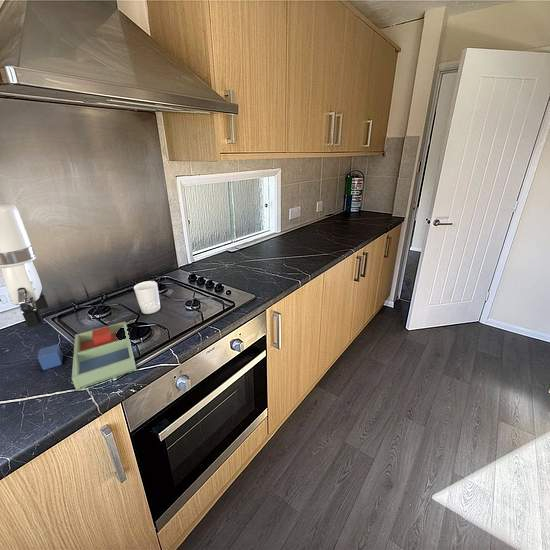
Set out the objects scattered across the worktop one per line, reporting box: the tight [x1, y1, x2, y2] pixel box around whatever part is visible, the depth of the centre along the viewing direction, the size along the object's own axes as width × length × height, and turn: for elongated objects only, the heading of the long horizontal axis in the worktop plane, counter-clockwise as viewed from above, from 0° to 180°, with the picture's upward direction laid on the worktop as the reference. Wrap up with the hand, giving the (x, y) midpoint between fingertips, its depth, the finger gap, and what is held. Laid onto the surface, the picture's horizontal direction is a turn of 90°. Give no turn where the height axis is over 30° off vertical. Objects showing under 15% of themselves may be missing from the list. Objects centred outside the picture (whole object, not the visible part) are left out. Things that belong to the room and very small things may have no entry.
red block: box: [92, 325, 113, 347], centre depth 88 cm, size 4×4×4 cm
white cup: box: [133, 280, 161, 315], centre depth 108 cm, size 8×8×10 cm
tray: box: [71, 321, 137, 391], centre depth 84 cm, size 14×22×4 cm, turn 30°
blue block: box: [37, 343, 64, 371], centre depth 82 cm, size 4×4×4 cm
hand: (39, 316), depth 78 cm, fingers open, 9 cm apart
